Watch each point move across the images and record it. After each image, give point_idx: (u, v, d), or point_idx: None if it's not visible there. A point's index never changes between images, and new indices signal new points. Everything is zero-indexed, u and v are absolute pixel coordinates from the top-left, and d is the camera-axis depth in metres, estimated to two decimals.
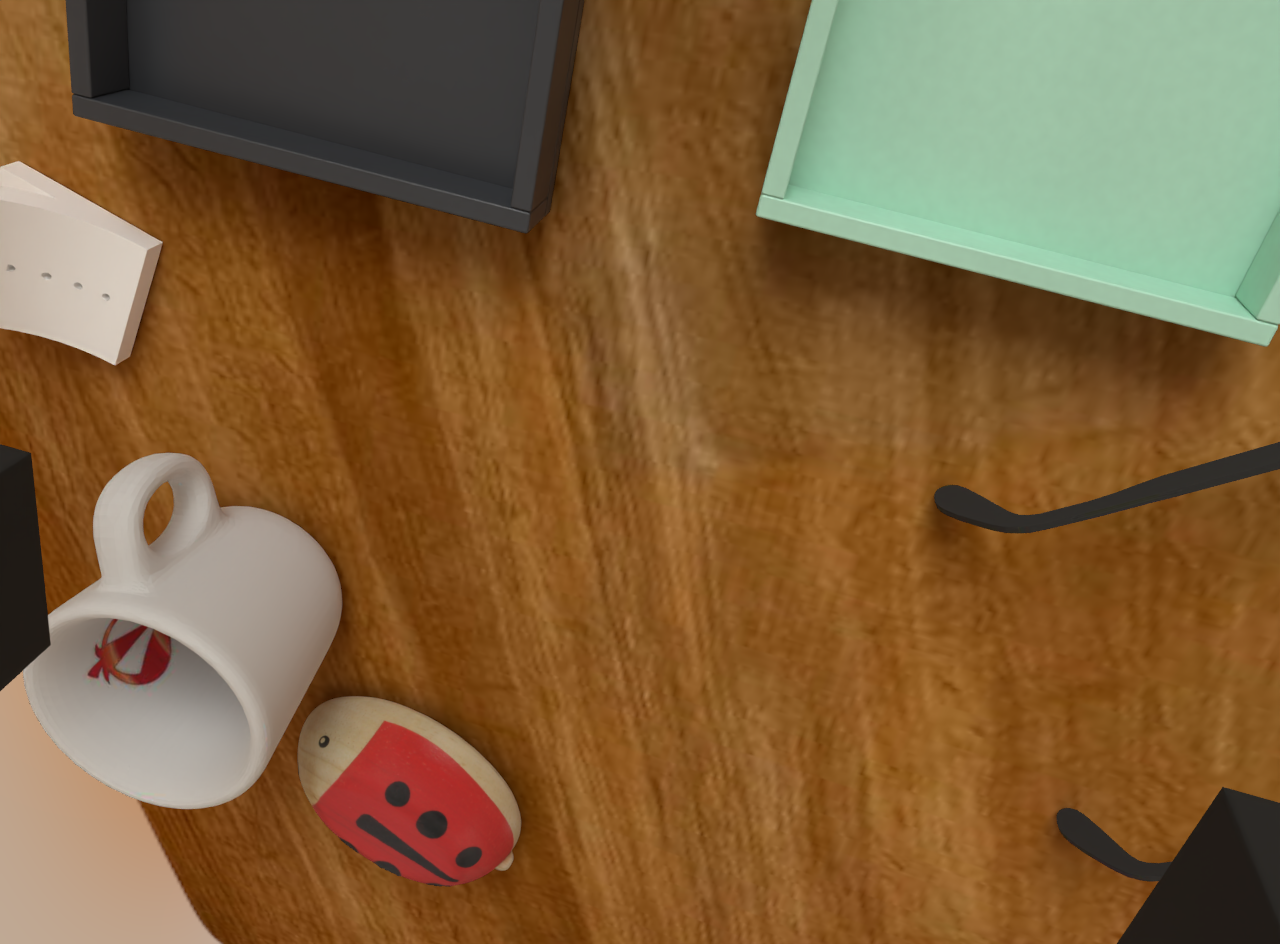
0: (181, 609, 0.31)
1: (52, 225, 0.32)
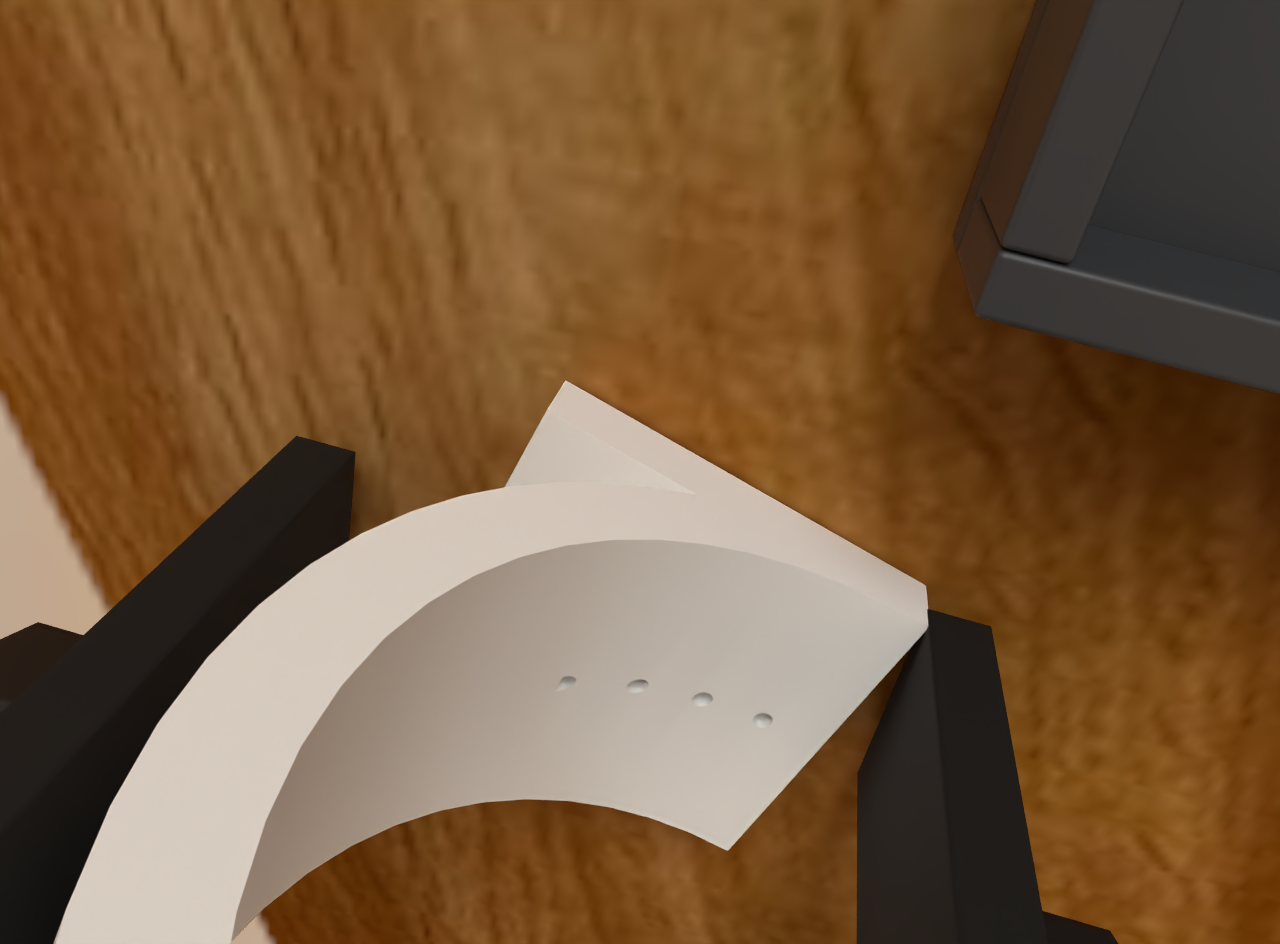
0: None
1: (704, 577, 0.11)
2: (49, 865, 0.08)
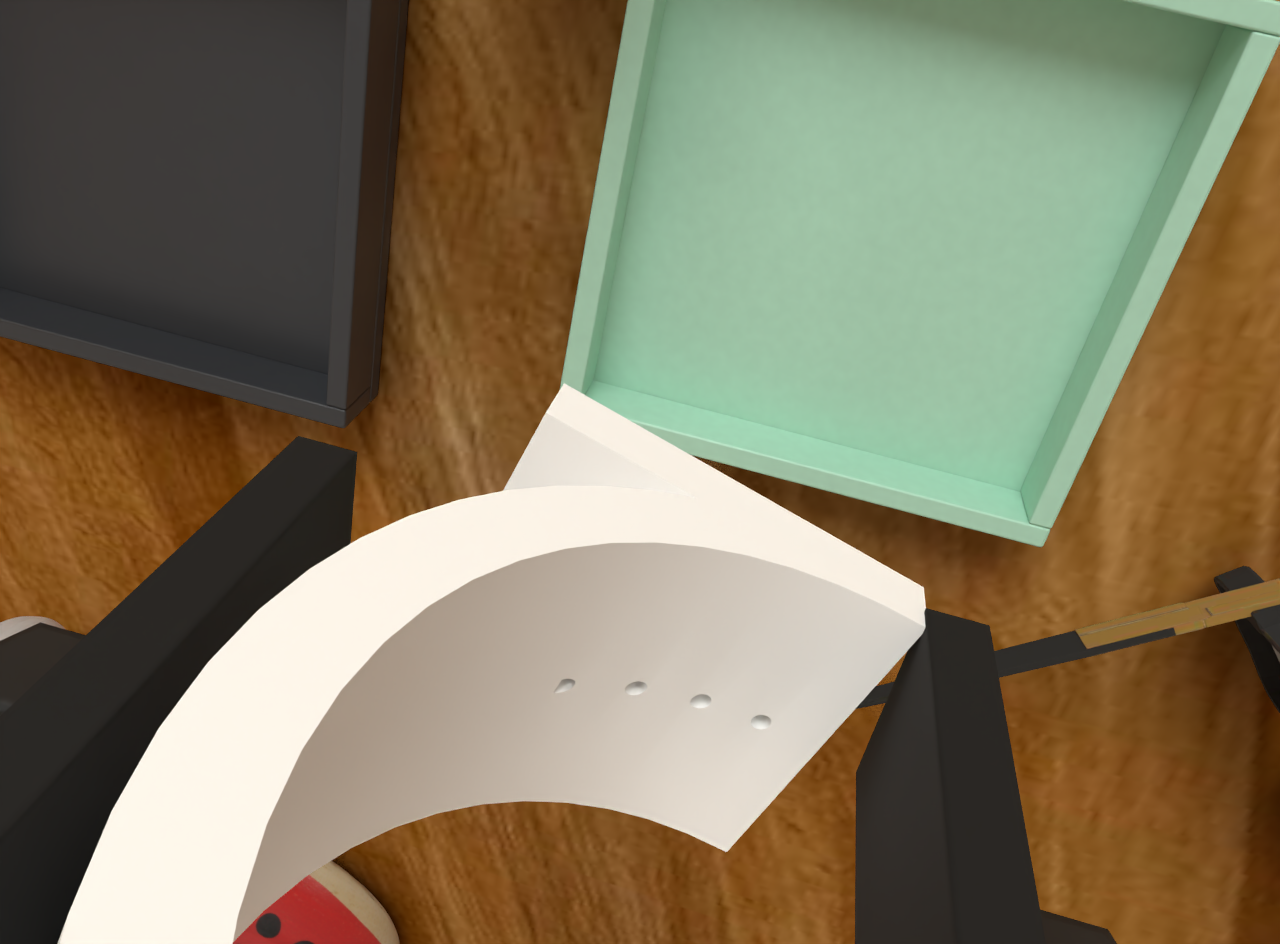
0: None
1: (702, 580, 0.11)
2: (52, 867, 0.08)
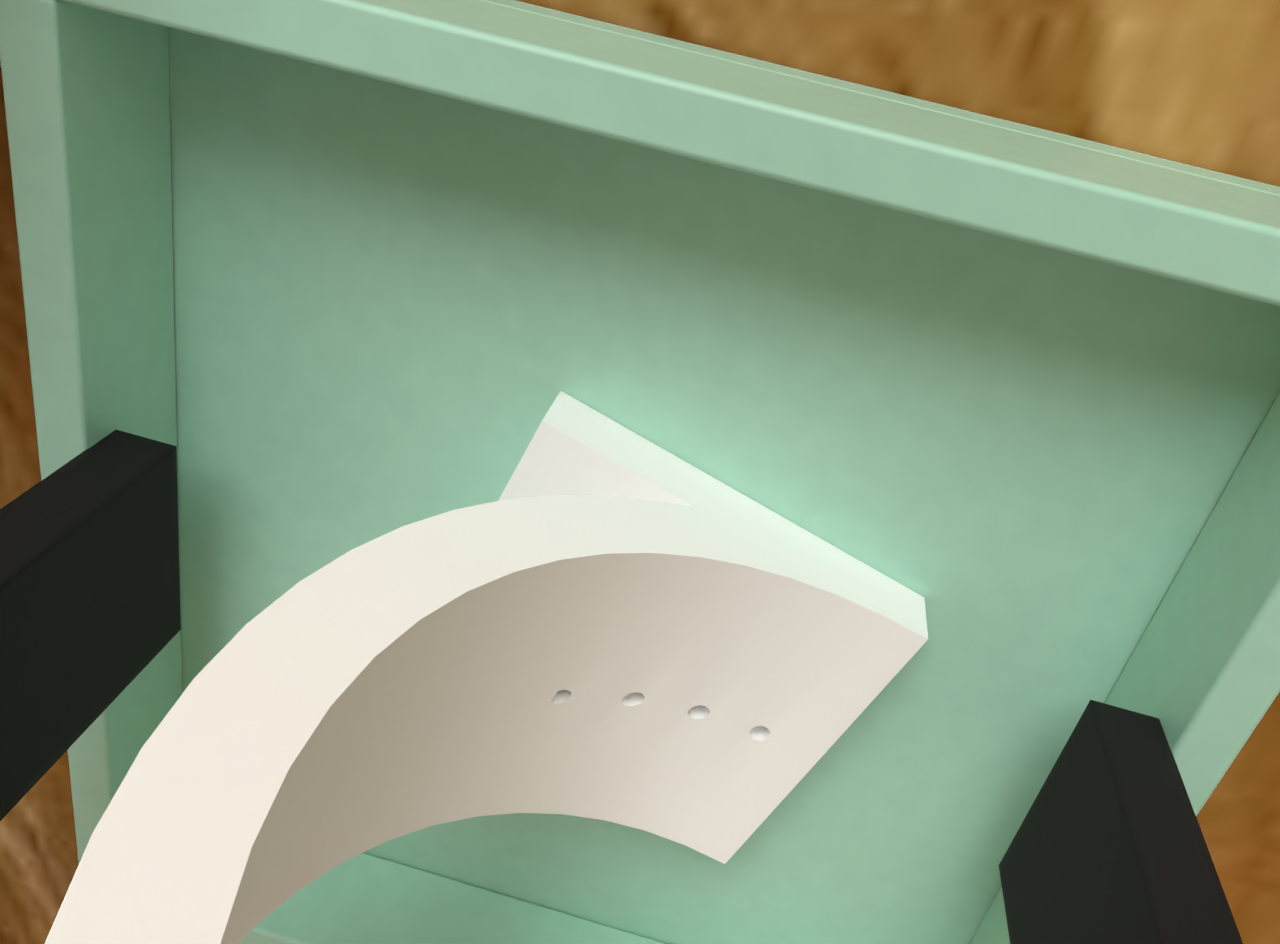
0: None
1: (699, 591, 0.11)
2: None
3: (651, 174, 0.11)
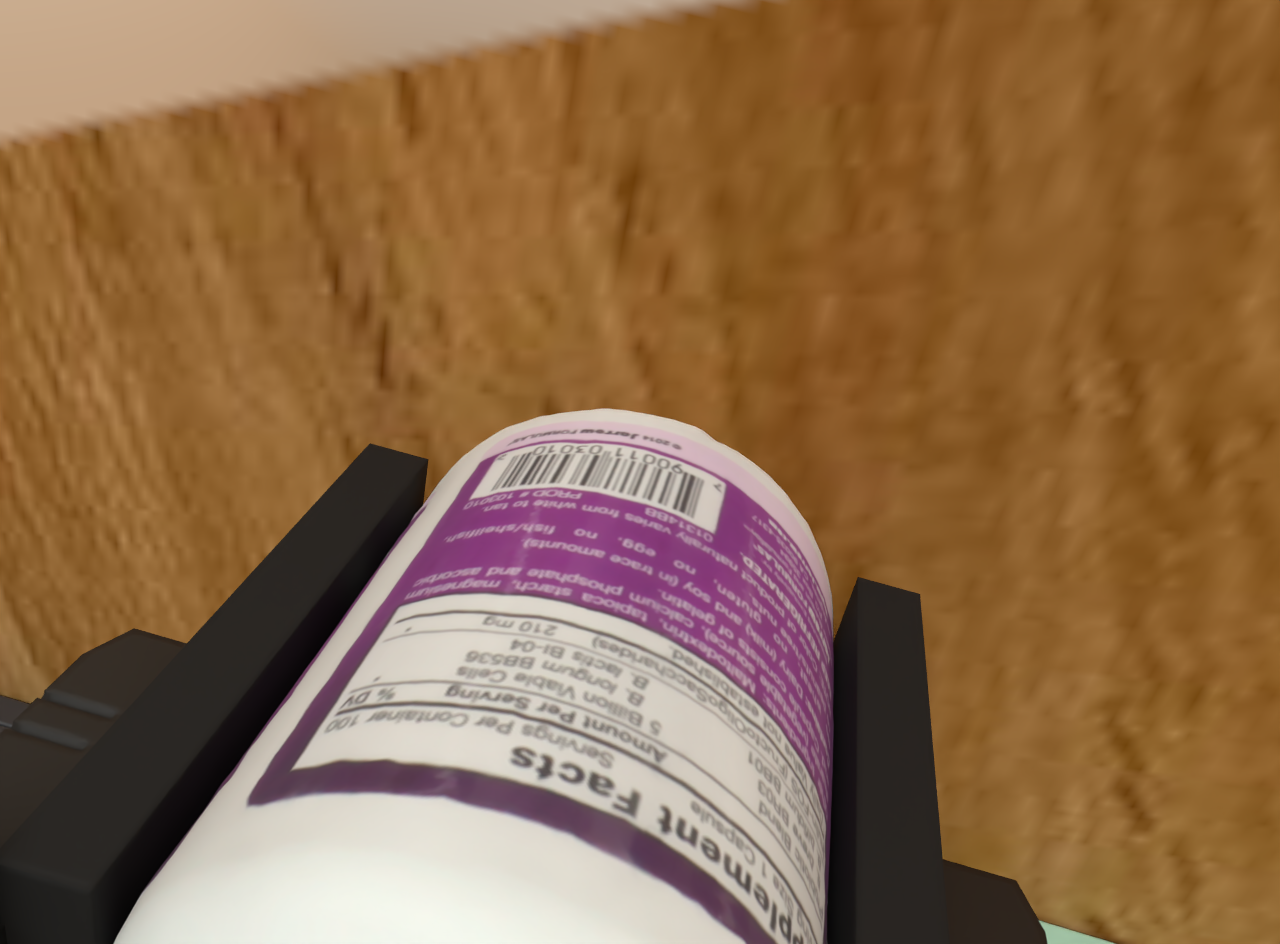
0: None
1: None
2: None
3: None
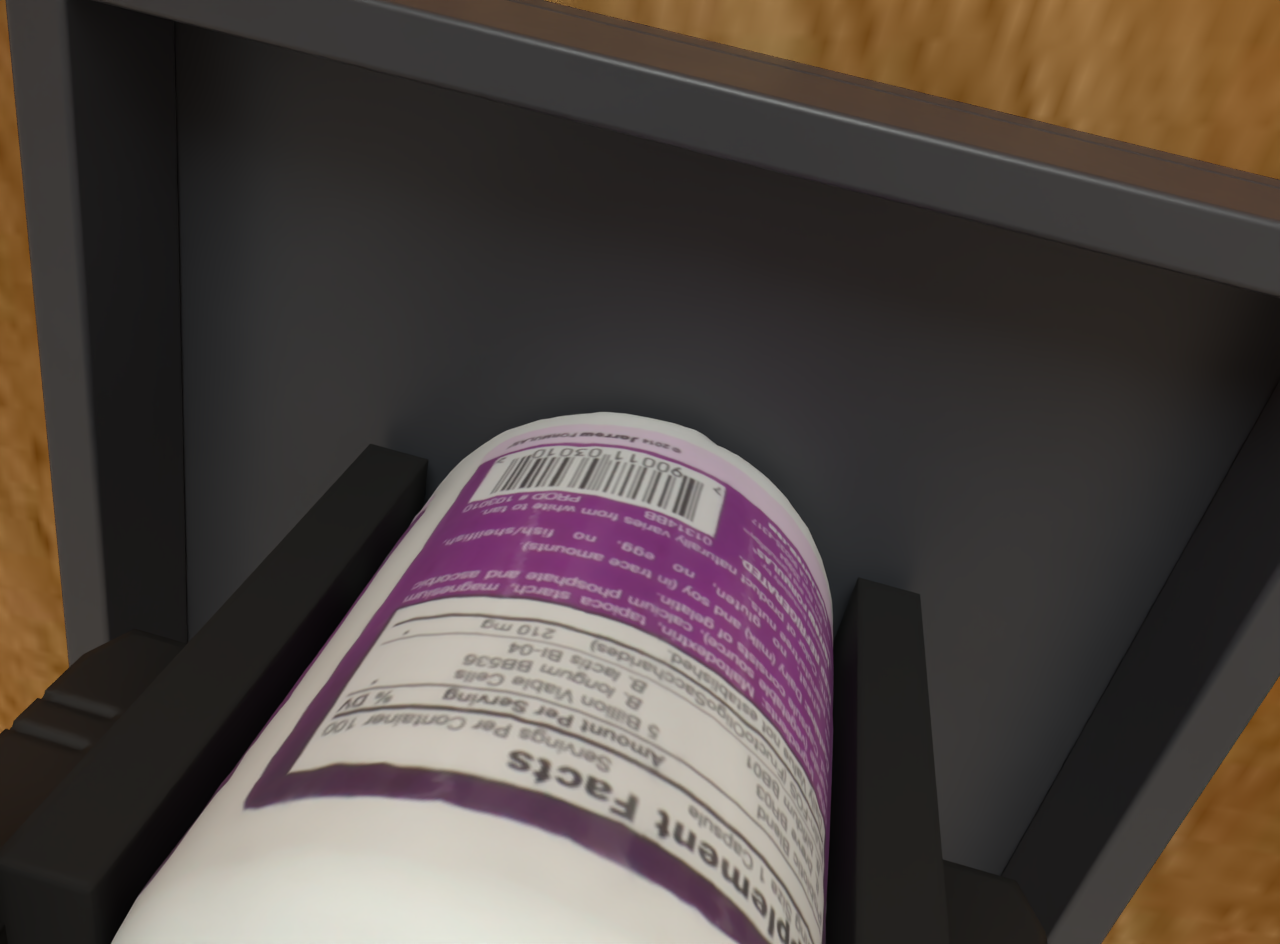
0: None
1: None
2: None
3: None
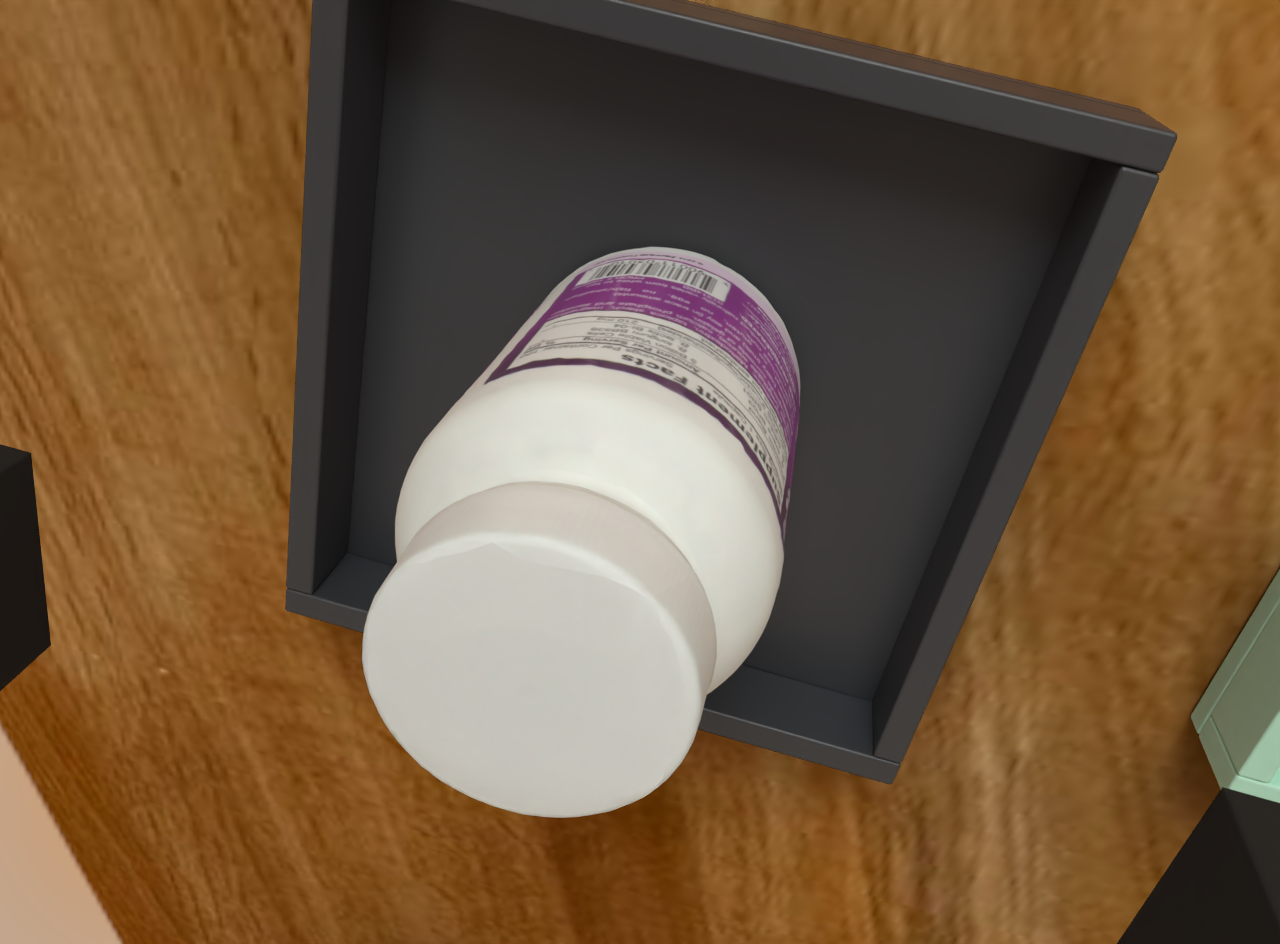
0: None
1: None
2: None
3: None
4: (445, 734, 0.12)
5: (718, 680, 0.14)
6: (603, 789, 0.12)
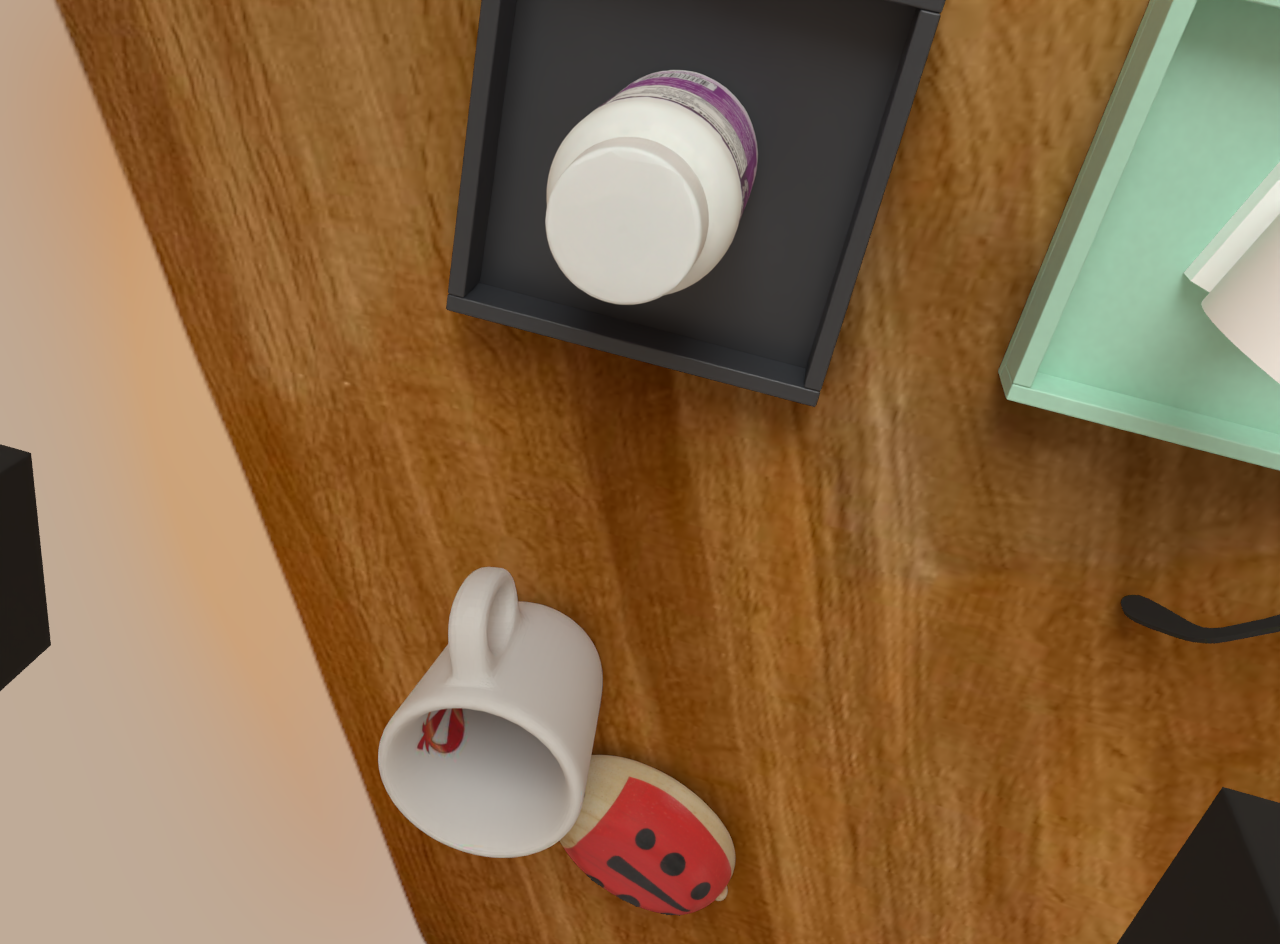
0: (521, 700, 0.38)
1: None
2: None
3: None
4: (582, 258, 0.27)
5: (709, 261, 0.28)
6: (657, 283, 0.26)
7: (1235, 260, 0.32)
